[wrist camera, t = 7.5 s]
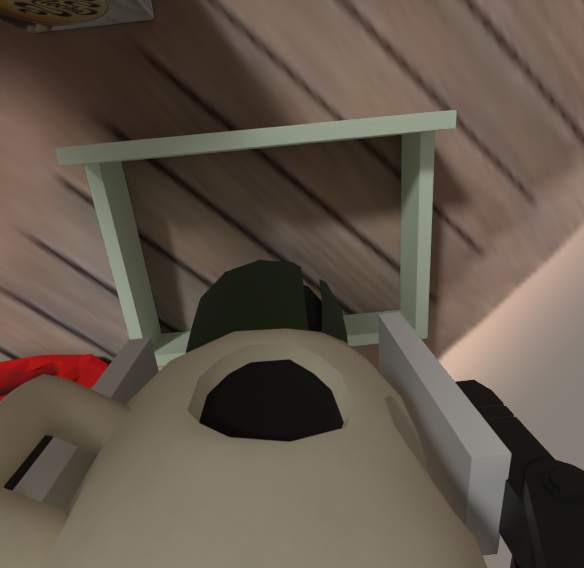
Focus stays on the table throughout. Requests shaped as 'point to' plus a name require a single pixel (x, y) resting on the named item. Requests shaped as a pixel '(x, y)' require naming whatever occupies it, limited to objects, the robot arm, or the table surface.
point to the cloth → (50, 370)
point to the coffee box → (72, 13)
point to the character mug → (236, 452)
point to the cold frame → (108, 156)
